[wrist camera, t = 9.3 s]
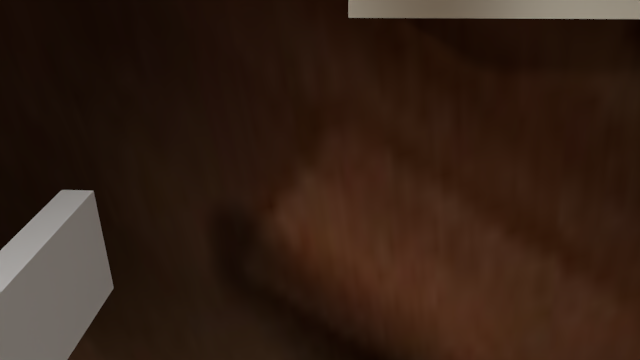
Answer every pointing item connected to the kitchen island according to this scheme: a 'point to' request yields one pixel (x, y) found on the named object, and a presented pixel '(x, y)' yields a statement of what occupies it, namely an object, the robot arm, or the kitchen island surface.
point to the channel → (495, 9)
